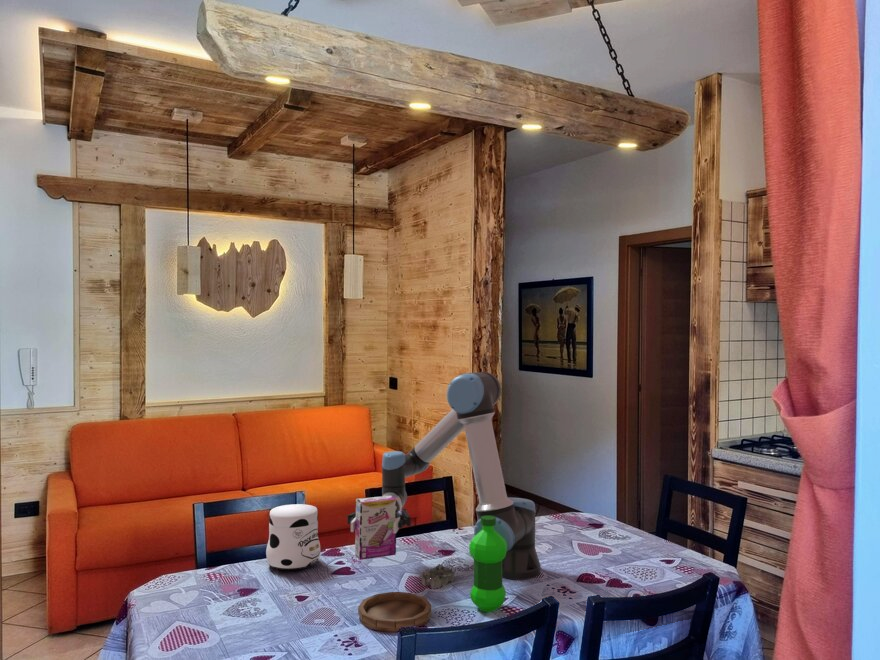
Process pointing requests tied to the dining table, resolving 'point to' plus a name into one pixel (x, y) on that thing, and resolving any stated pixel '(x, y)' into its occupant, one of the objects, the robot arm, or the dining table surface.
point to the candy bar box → (375, 527)
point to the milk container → (293, 537)
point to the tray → (394, 611)
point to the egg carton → (437, 576)
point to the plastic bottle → (488, 566)
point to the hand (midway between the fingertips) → (373, 527)
